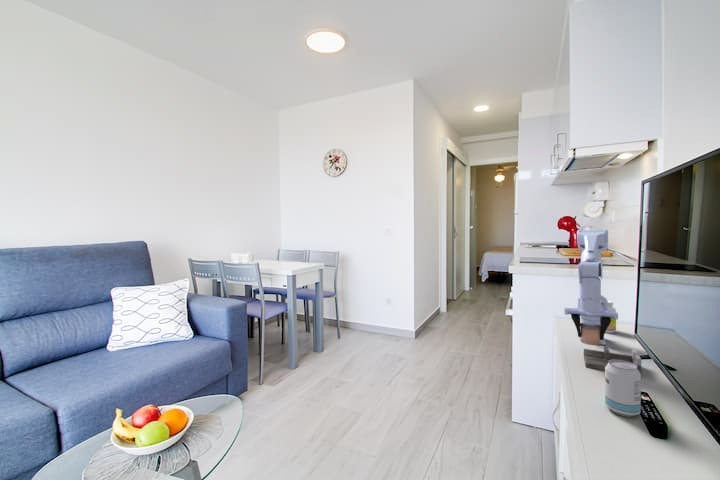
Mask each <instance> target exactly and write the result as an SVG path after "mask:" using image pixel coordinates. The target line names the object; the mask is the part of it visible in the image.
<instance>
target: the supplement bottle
mask: <svg viewBox="0 0 720 480" xmlns="http://www.w3.org/2000/svg"><path fill="white" fill-rule="evenodd" d="M607 300H608V299H607ZM601 303H602V302H601ZM613 306H614V301H612V300H608V311H610V312H617V309H616V308H615V307H613ZM616 331H617V319H613V318H611V323H610V325H609V326H608V328H607V329H606V332H605V334H606V333H608V334H614V333H616Z"/></svg>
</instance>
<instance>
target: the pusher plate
mask: <svg viewBox="0 0 720 480" xmlns="http://www.w3.org/2000/svg"><path fill="white" fill-rule="evenodd" d="M603 351H604V359H607V360H610V352H611V351H610V350H609V347H608V346H607V345H603Z"/></svg>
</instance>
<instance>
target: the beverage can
mask: <svg viewBox="0 0 720 480" xmlns="http://www.w3.org/2000/svg"><path fill="white" fill-rule="evenodd" d="M641 380H642V376H641V374H640V372H639V371H638V369H637V366H636V365H635V364H633V363H630V362H627V361H623V360H609V363H608V364H607V365H606V367H605V370H604V404H605V407H607V408H609V409H610V410H611V412H613V413H615V414H616V415H619V416H622V417H629V418H631V417H635V416H638V415H640V414H641V409H642V408H641V405H642V403H641V402H642V401H641V400H642V399H641V398H642V391H641V390H642V388H641V387H642V385H641V384H642V383H641V382H642V381H641Z"/></svg>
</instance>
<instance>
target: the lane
mask: <svg viewBox="0 0 720 480" xmlns="http://www.w3.org/2000/svg"><path fill="white" fill-rule="evenodd" d="M609 352H610V360H623V361H627V362H630V363H633V364H635V365H636V366H637V369H638V371H639V372H640V374H641V377H642V376H643V373H642V357H640V355H639V353H638V351H637V350H636V349H631V354H626V353H619V352H612V351H609ZM583 360H584V366H585V368H589V369H594V370H601V371H605V367H606V365H607V364H608V363H609V360H607V359H604V350H597V349H589V348H583Z"/></svg>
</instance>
